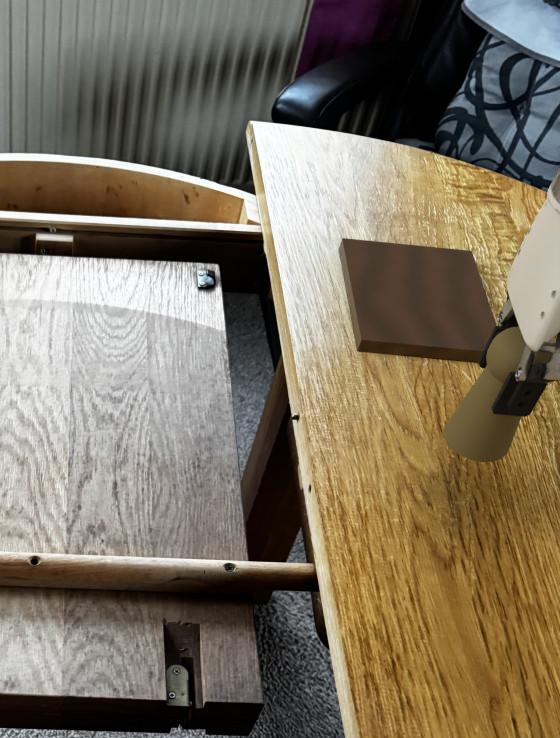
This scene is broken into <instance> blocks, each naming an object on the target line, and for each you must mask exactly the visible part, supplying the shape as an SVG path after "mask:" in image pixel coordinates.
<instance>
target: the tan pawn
mask: <svg viewBox="0 0 560 738" xmlns="http://www.w3.org/2000/svg"><path fill="white" fill-rule="evenodd" d="M550 341H552V339H551V340H550ZM525 345H526V342H525V341H524V338H523V336H522V333H521V330H520V328H519V327H511V328H507V329H506V330H504V331H502V332H501V333H499V334H498V335H497V336H496V337H495V338H494V339H493V341H492V342H491V344H490V346H489V348H488V351H487V356H486V361H487V366H486V367H485V368H483V370H482V371H481V373H480V375H479V376H478V377H477V379H476V380H475V382H474V383H473V385H472V386H471V387H470V389H469V391H468V392H467V393H466V395H465V396H464V397H463V399H462V400H461V402H460V403H459V404H458V406H457V407H456V409H455V410H454V412H453V414H452V415H451V416H450V417H449V419H448V420H447V422H446V423H445V425H444V427H443V429H442V437H443V439H444V441H445V444H446V445H447V446H448V447H449V448H450V449H451V450H452V451H453V452H454V453H456V454H457V455H459V456H460V457H462V458H465V459H467V460H469V461H473V462H479V463H493V462H497V461H499V460H502V459H504V457H505V456H507V455H508V452H509V450H510V448H511V445H512V443H513V440H514V439H515V438H514V437H515V435H516V433H517V430H518V428H519V424H520V422H521V419H522V418H523V416H510V415H498V414H494V413H493V411H492V405H493V403H494V402H495V400H496V398H497V396H498V394H499V392H500V390H501V388H502V386H503V385H504V383H505V381H506V379H507V377H508V375H509V373H510V372H516V370H517V367H518V364H519V362H520V359H521V356H522V353H523V351H524V348H525ZM550 354H551V353H547V352H536V355H535V358H534V360H533V363H532V365H533V364H537V363H547V362H548V359H549V357H550Z"/></svg>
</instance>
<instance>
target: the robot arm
mask: <svg viewBox="0 0 560 738" xmlns="http://www.w3.org/2000/svg"><path fill="white" fill-rule="evenodd" d="M513 259H514V260H513V261H512V264H511V267H510V269H509V271H508V276H507V278H506V289H507V290H506V295H507V296H506V302H505V304H504V305H503V306H502V308H501V309H500V310H499V312H498V314H497V319H496V322H497V323H496V324H497V326H495V328H494V330H493V332H492V334H491V336H490V338H489V340H488V342H487V344H486V346H485V348H484V350H483V352H482V355H481V357H480V359H479V361H478V362H477V363H478V366H479V368H481V369H485V367H486V366H487V361H486V356H487V351H488V348H489V346H490V344H491V342H492V341H493V339H494V338H495V337H496V336H497V335H498V334H499V333H501V332H502V331H504V330H506V329H507V328H511V327H519V328H520V330H521V333H522V336H523V338H524V341H525V342H526V345H525V348H524V351H523V353H522V356H521V359H520V362H519V364H518V367H517V370H516V372H510V373H509V375H508V377H507V379H506V381H505V383H504V385H503V386H502V388H501V390H500V392H499V394H498V396H497V398H496V400H495V402H494V403H493V405H492V411H493V413H494V414H498V415H510V416H522V418H523V417H525V418H526V417H529V416H530V415H531V414H532V412H533V411H534V409H535V407H536V405H537V404H538V401H539V400H540V399H541V397H542V395H543V393H544V392H545V390H546V388H547V387H548V385H549V384H550V385H551V384H553V383H554V382H556V381H560V165H559V166H558V168H557V170H556V173H555V174H554V176H553V179H552V181H551V183H550V185H549V188H548V189H547V194H546V199H545V200H544V202H543V204H542V205H541V208H540V209H539V211H538V213H537V214H536V216H535V218H534V220H533V221H532V223H531V226H530V227H529V229H528V230H527V233H526V234H525V237H524V238H523V241H522V243H521V244H520V247H519V249H518V250H517V253H516V255H515V257H514V258H513ZM555 337H556V339H555V340H552V339H553V338H555ZM550 340H551V341H550ZM536 352H547V353H551V354H550V357H549V359H548V362H547V363H537V364H533V365H532V363H533V360H534V358H535V355H536Z"/></svg>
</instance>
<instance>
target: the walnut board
mask: <svg viewBox="0 0 560 738" xmlns="http://www.w3.org/2000/svg"><path fill="white" fill-rule="evenodd" d="M338 252H339V258H340V263H341V269H342V275H343V279H344V284H345V285H344V286H345V290H346V295H347V300H348V301H347V302H348V307H349V313H350V317H351V324H352V329H353V335H354V340H355V345H356V351H358V352H367V353H376V354H388V355H396V356H397V354H398V356H407V357H416V358H417V357H418V358H429V359H438V360H439V359H440V360H450V361H458V362H459V361H460V362H469V363H471V362H472V363H478V361H479V359H480V357H481V355H482V352H483V350H484V348H485V346H486V344H487V342H488V340H489V338H490V336H491V334H492V332H493V330H494V328H495V326H498V324H497V323H496V322H497V321H496V320H495V316H494V313H493V311H492V307H491V304H490V302H489V299H488V295H487V292H486V290H485V286H484V284H483V281H482V280H483V279H482V277H481V274H480V271H479V268H478V265H477V261H476V259H475V256H474V253H473V250H468V249H460V248H459V249H458V248H457V249H456V248H448V247H438V246H427V245H417V244H406V243H398V242H397V243H396V242H387V241H375V240H367V239H356V238H347V237H346V238H345V237H342V238H341V241H340V243H339V248H338Z"/></svg>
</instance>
